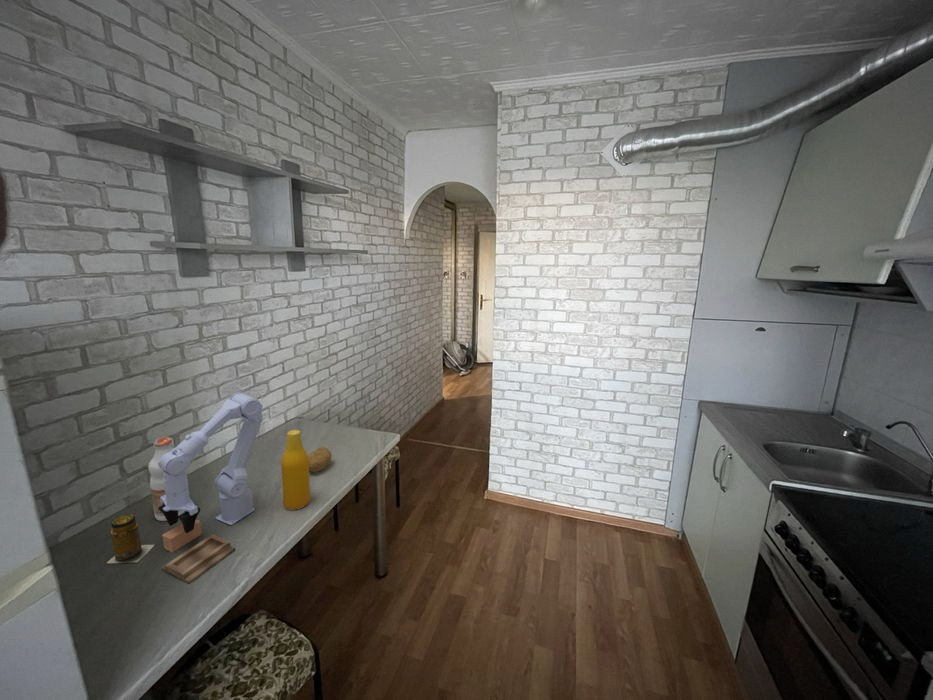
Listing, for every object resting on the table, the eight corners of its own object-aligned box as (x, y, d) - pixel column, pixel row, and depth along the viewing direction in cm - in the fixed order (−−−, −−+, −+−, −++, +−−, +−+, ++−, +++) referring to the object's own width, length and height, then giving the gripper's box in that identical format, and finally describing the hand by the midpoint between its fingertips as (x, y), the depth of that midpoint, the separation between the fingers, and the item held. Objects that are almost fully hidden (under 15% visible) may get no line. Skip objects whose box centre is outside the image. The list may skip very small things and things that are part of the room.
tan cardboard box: (193, 530, 126) (192, 517, 125) (201, 534, 124) (200, 521, 123) (164, 548, 117) (162, 534, 116) (172, 552, 116) (170, 538, 115)
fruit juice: (157, 509, 134) (146, 437, 128) (189, 501, 139) (181, 432, 133) (152, 525, 127) (141, 449, 120) (187, 516, 132) (178, 443, 125)
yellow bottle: (311, 507, 140) (308, 435, 134) (283, 513, 136) (279, 440, 130) (309, 493, 148) (306, 425, 142) (283, 499, 144) (278, 429, 138)
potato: (298, 475, 160) (297, 458, 158) (316, 459, 173) (316, 443, 172) (319, 479, 158) (318, 462, 157) (336, 462, 172) (336, 446, 170)
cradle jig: (208, 538, 122) (208, 532, 122) (235, 550, 118) (234, 544, 118) (161, 569, 110) (160, 562, 109) (189, 584, 106) (188, 577, 105)
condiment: (125, 545, 118) (119, 512, 115) (155, 545, 118) (150, 511, 116) (106, 564, 111) (99, 528, 108) (137, 563, 111) (131, 528, 109)
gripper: (147, 489, 115) (152, 528, 118) (178, 502, 110) (183, 542, 113) (172, 478, 122) (176, 515, 125) (202, 490, 117) (206, 528, 120)
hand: (181, 527), depth 120 cm, fingers open, 7 cm apart
